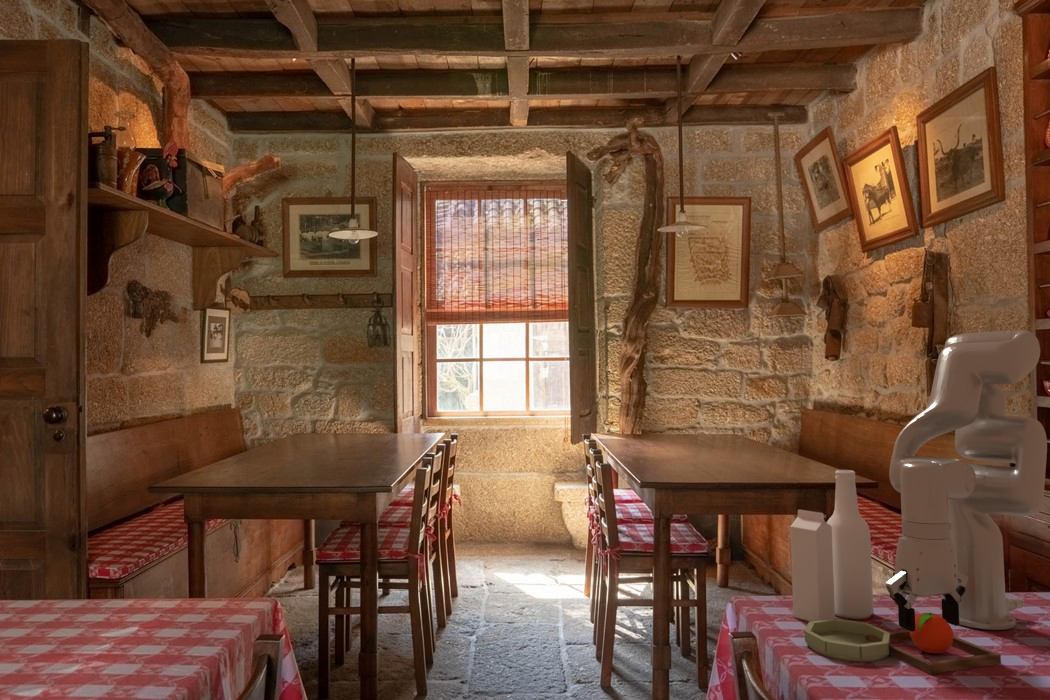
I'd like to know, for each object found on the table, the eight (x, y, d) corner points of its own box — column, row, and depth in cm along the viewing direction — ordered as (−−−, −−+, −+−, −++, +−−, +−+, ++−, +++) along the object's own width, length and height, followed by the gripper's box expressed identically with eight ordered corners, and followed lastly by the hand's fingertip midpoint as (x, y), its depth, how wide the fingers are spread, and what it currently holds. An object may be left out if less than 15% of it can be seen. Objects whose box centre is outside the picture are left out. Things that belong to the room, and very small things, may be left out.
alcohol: (832, 618, 149) (826, 473, 150) (824, 605, 157) (819, 468, 159) (878, 621, 147) (872, 473, 148) (867, 607, 155) (862, 468, 157)
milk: (819, 624, 146) (815, 515, 146) (792, 617, 150) (789, 511, 151) (835, 618, 149) (831, 511, 150) (808, 610, 154) (805, 507, 155)
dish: (852, 630, 142) (852, 616, 142) (907, 656, 128) (907, 640, 128) (791, 638, 138) (790, 623, 138) (841, 666, 124) (841, 649, 125)
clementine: (940, 664, 124) (938, 623, 125) (900, 653, 130) (898, 613, 130) (961, 653, 129) (959, 613, 129) (921, 642, 135) (919, 604, 135)
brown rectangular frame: (930, 634, 139) (930, 626, 139) (1001, 663, 124) (1000, 654, 124) (865, 643, 135) (865, 635, 135) (930, 674, 120) (930, 665, 120)
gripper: (946, 523, 136) (950, 615, 136) (870, 529, 132) (873, 624, 131) (981, 531, 129) (985, 628, 128) (902, 537, 125) (905, 638, 124)
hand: (929, 626), depth 130 cm, fingers open, 9 cm apart
